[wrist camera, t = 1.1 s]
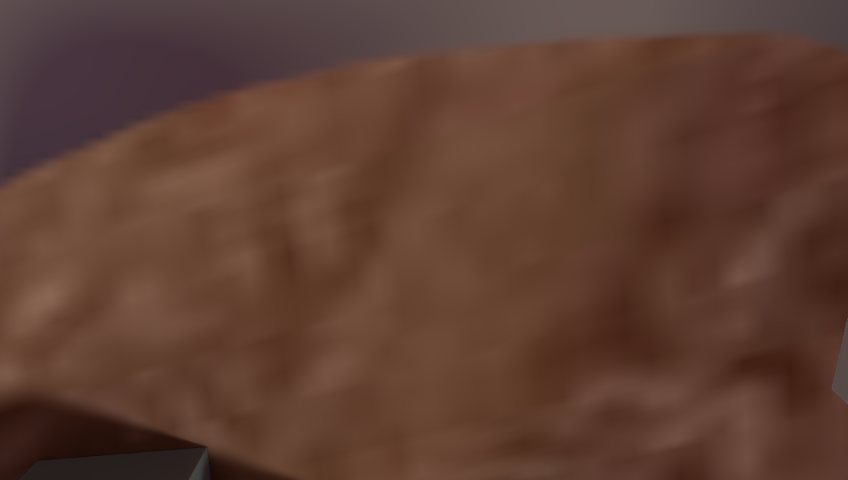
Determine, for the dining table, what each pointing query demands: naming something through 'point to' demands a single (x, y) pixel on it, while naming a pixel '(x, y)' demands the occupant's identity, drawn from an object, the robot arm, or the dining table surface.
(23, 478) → the endcap rack
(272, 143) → the dining table surface
